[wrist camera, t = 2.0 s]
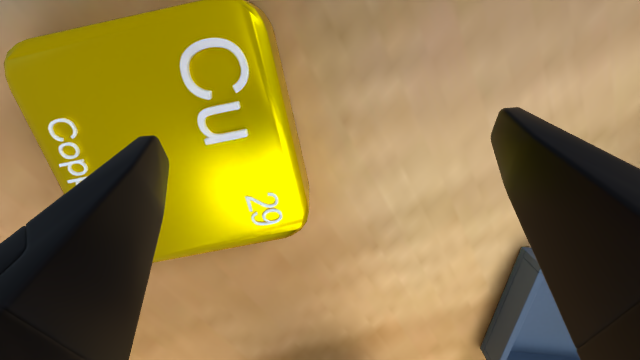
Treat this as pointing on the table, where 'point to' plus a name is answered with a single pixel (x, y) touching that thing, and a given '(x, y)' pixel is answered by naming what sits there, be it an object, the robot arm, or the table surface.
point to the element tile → (174, 116)
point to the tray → (527, 318)
